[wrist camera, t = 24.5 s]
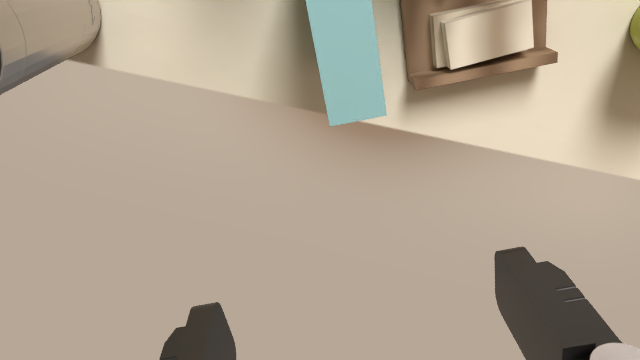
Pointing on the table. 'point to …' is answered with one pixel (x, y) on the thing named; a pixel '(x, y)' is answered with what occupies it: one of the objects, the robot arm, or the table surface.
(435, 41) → the offcut lower
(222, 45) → the table surface
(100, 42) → the table surface
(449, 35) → the offcut upper
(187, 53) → the table surface
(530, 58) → the rack
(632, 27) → the plant pot
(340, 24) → the tall block
